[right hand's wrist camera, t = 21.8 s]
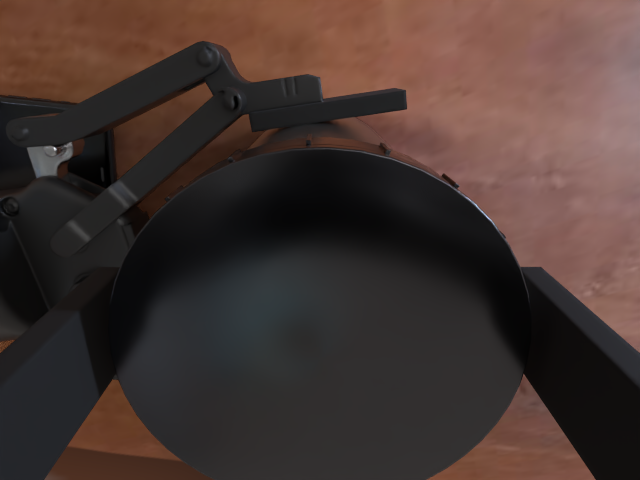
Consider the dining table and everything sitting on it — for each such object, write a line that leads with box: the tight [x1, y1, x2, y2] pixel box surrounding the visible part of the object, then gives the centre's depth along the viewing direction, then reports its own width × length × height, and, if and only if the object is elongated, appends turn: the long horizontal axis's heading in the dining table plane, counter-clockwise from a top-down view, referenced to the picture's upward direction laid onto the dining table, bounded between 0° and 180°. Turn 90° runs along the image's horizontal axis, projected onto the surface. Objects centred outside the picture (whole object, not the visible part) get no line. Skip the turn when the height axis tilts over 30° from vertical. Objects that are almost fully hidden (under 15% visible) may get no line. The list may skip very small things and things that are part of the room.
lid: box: [108, 134, 532, 480], centre depth 12 cm, size 11×11×2 cm
